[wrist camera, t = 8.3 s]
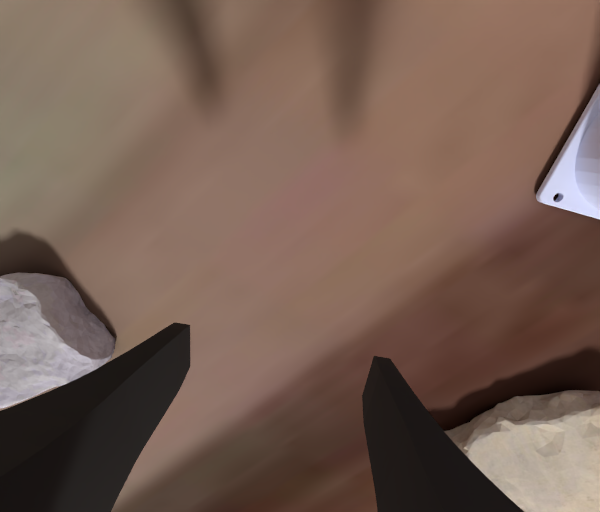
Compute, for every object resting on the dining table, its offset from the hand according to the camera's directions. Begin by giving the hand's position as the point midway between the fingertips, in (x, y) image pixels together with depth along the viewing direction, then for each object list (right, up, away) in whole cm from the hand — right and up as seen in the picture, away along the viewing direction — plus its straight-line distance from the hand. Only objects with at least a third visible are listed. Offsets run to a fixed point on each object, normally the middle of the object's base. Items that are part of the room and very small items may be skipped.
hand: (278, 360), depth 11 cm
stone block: (-21, -1, +13) cm, 25 cm away
